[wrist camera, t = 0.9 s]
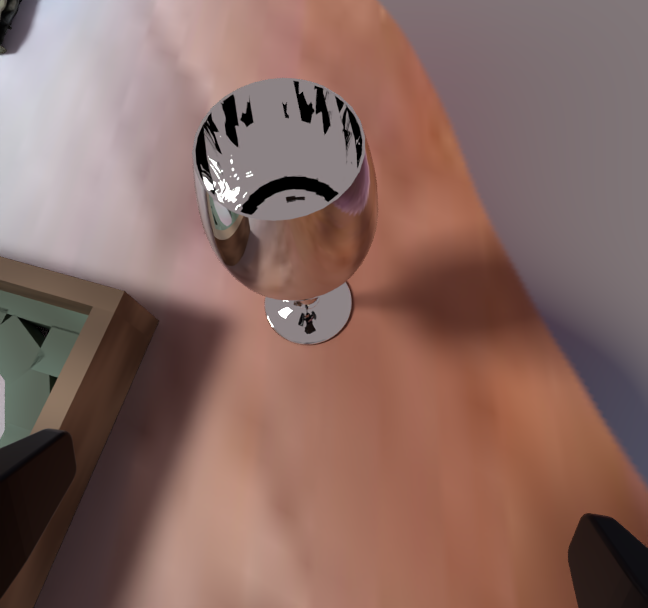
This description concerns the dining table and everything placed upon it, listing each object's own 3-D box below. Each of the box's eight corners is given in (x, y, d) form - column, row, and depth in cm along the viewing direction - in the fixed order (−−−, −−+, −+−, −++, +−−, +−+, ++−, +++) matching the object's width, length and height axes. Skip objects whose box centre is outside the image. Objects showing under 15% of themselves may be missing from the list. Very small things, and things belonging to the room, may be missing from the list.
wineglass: (229, 321, 23) (126, 178, 12) (290, 234, 25) (250, 36, 14) (327, 379, 22) (314, 280, 11) (385, 284, 24) (425, 112, 13)
